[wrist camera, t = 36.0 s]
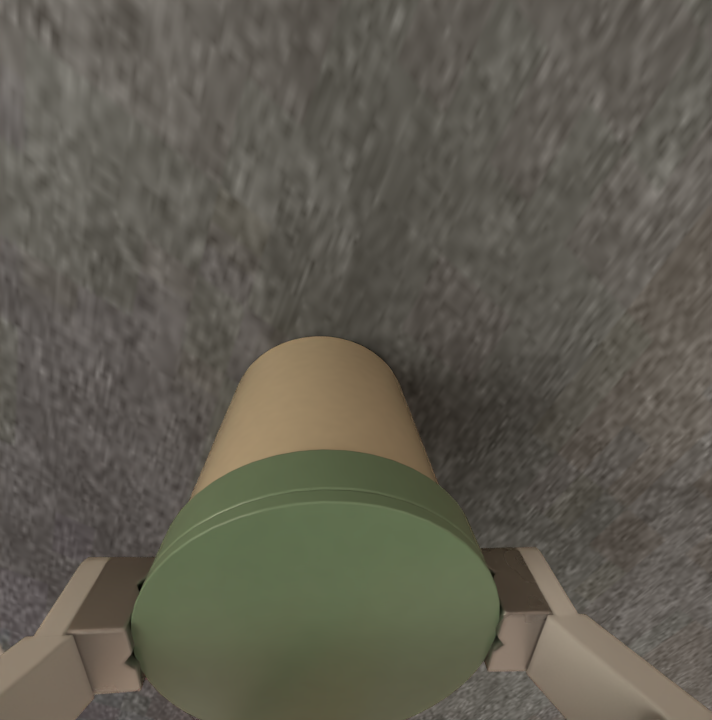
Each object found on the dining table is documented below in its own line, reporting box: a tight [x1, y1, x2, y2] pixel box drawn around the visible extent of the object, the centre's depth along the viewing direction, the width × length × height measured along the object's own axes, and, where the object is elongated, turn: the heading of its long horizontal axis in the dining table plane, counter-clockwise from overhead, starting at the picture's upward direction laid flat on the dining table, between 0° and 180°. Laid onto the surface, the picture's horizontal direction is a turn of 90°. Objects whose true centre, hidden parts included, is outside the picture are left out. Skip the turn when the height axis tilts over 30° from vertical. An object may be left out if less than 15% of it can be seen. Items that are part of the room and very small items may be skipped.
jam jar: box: [189, 336, 439, 501], centre depth 11 cm, size 6×6×8 cm
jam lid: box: [131, 449, 500, 720], centre depth 8 cm, size 7×7×1 cm
